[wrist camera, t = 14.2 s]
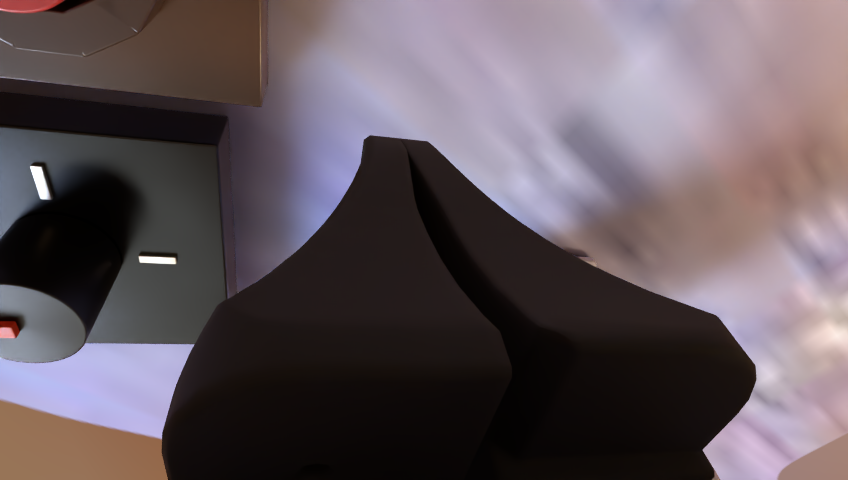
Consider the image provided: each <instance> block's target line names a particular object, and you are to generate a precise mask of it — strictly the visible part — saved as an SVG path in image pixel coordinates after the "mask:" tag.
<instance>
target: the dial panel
mask: <svg viewBox="0 0 848 480" xmlns="http://www.w3.org/2000/svg"><path fill="white" fill-rule="evenodd" d="M39 214H55V215H63V216H68V217H71V218H75V219H78V220H81V221H83V222H85V223H88V224H90V225H92V226H93V227H95V228H97V229H98V230H100V231H101V232H102V233H104V234H105V235H106V236H107V237H108V238H109V239H110V240H111V241H112V242H113V244H114V245H115V246H116V248H117V250H118V252H119V255H120V259H121V268H120V272H119V274H118V276H117V278H116V280H115V282H114V284H113V286H112V288H111V290H110V292H109V295H108V297H107V299H106V301H105V303H104V305H103V307H102V309H101V311H100V313H99V315H98V317H97V320H96V322H95V324H94V326H93V328H92V330H91V332H90V334H89V336H88V338H87V340H86V342H85V343H134V344H195V343H196V341H197V339H198V337H199V335H200V333H201V332H202V330H203V328H204V327H205V325H206V323H207V322H208V320H209V318H210V317H211V315H212V313H213V312H214V310H215V308H216V307H217V305H218V304H220V303H221V302H223V301H224V300H226V299H228V298H230V297H232V296H234V295H235V294H237V283H236V262H235V242H234V222H233V201H232V181H231V161H230V140H229V120H228V117H227V116H219V115H209V114H200V113H191V112H182V111H172V110H163V109H154V108H145V107H135V106H126V105H117V104H107V103H98V102H89V101H80V100H70V99H61V98H52V97H43V96H33V95H24V94H15V93H6V92H0V239H1V237H2V236H3V235H4V234H5V232H6V231H7V230H8V229H9V228H10V227H11V226H12V225H13V224H14V223H15V222H17V221H18V220H21V219H23V218H25V217H29V216H33V215H39Z"/></svg>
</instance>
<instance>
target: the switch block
mask: <svg viewBox="0 0 848 480" xmlns="http://www.w3.org/2000/svg"><path fill="white" fill-rule="evenodd" d="M0 78H8V79H17V80H26V81H35V82H43V83H52V84H61V85H70V86H79V87H87V88H96V89H105V90H114V91H123V92H131V93H140V94H149V95H158V96H167V97H175V98H184V99H193V100H202V101H211V102H219V103H228V104H237V105H246V106H255V107H262V104H263V100H264V96H265V92H266V88H267V84H268V0H65V1H63V2H61V3H60V4H58V5H56V6H55V7H53V8H51V9H48V10H45V11H42V12H36V13H11V12H6V11H1V10H0Z"/></svg>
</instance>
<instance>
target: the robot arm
mask: <svg viewBox="0 0 848 480" xmlns="http://www.w3.org/2000/svg"><path fill="white" fill-rule="evenodd" d="M755 382H756V368H755V364H754V363H753V362H752V360H751V359H750V358H749V357H748V355H747V354H746V353H745V351H744V350H743V349H742V347H741V346H740V345H739V344H738V342H737V341H736V340H735V338H734V337H733V336H732V334H731V333H730V332H729V330H728V329H727V328H726V327H725V325H724V324H723V323H722V321H721V320H720V319H719V318H718V317H717V316H716V315H714V314H711V313H708V312H705V311H702V310H700V309H697V308H694V307H691V306H689V305H686V304H683V303H680V302H678V301H675V300H672V299H669V298H667V297H664V296H661V295H658V294H656V293H653V292H650V291H648V290H646V289H643V288H641V287H639V286H636V285H634V284H632V283H630V282H627V281H625V280H623V279H620V278H618V277H616V276H614V275H611V274H609V273H607V272H605V271H603V270H601V269H599V268H597V264H596V262H595V260H594V259H593V258H590V257H576V256H574V255H572V254H571V253H569V252H567V251H565V250H563V249H561V248H560V247H558V246H556V245H555V244H553V243H551V242H550V241H548V240H546V239H545V238H543V237H542V236H540V235H539V234H537V233H536V232H534V231H533V230H531V229H530V228H528V227H527V226H525V225H524V224H522V223H521V222H519V221H518V220H517V219H515V218H514V217H512V216H511V215H510V214H508V213H507V212H506V211H505V210H503V209H502V208H501V207H500V206H499V205H497V204H496V203H495V202H494V201H492V200H491V199H490V198H489V197H487V196H486V195H485V194H484V193H483V192H482V191H481V190H479V189H478V188H477V187H476V186H475V185H474V184H473V183H472V182H471V181H469V180H468V179H467V178H466V177H465V176H464V175H463V174H462V173H461V172H460V171H459V170H458V169H457V168H456V167H455V166H454V165H453V164H452V163H450V162H449V161H448V160H447V159H446V158H445V157H444V156H443V155H442V154H441V153H440V152H439V151H438V150H437V149H436V148H435V147H434V146H432V145H431V144H430V143H429V142H427V141H418V140H408V139H399V138H390V137H380V136H371V135H370V136H369V137H367V138H366V139H364V142H363V150H362V158H361V164H360V166H359V169H358V171H357V173H356V175H355V178H354V180H353V182H352V183H351V185H350V187H349V188H348V190H347V192H346V193H345V195H344V197H343V198H342V200H341V202H340V203H339V205H338V206H337V207H336V209H335V210H334V211H333V213H332V214H331V215H330V217H329V218H328V219H327V220H326V221H325V223H324V224H323V225H322V226H321V227H320V228H319V229H318V231H317V232H316V233H315V234H314V235H313V236H312V237H311V238H310V239H309V240H308V241H307V242H306V243H305V244H304V245H303V246H302V247H301V248H300V249H299V250H297V251H296V252H295V253H294V254H293V255H291V256H290V257H289V258H288V259H286V260H285V261H284V262H283V263H281V264H280V265H279V266H278V267H276V268H275V269H274V270H273V271H271V272H270V273H269V274H267V275H266V276H265V277H263V278H262V279H260V280H259V281H257V282H255V283H254V284H252V285H250V286H249V287H247V288H245V289H244V290H242V291H240V292H239V293H237V294H235V295H234V296H232V297H230V298H228V299H226V300H224V301H223V302H221V303H220V304H218V305H217V307H216V308H215V310H214V312H213V313H212V315H211V317H210V318H209V320H208V322H207V323H206V325H205V327H204V328H203V330H202V332H201V333H200V335H199V337H198V339H197V341H196V343H195V345H194V347H193V348H192V350H191V352H190V354H189V357H188V359H187V361H186V363H185V366H184V368H183V370H182V372H181V375H180V377H179V380H178V382H177V384H176V387H175V390H174V394H173V397H172V401H171V404H170V408H169V411H168V415H167V418H166V422H165V426H164V429H163V433H162V456H163V460H164V464H165V469H166V473H167V477H168V480H720V479H719V477H718V475H717V473H716V472H715V470H714V468H713V467H712V465H711V463H710V462H709V460H708V459H707V457H706V455H705V454H704V452H703V449H704V448H705V447H706V446H707V445H708V443H709V442H710V441H711V440H712V439H713V438H714V437H715V436H716V435H717V434H718V433H719V432H720V431H721V430H722V429H723V428H724V427H725V426H726V425H727V424H728V423H729V422H730V421H731V420H732V419H733V418H734V417H735V416H736V415H737V414H738V413H739V411H740V410H741V409H742V408H743V406H744V405H745V404H746V402H747V401H748V400H749V398H750V395H751V393H752V390H753V388H754V385H755Z"/></svg>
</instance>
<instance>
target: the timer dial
mask: <svg viewBox="0 0 848 480" xmlns="http://www.w3.org/2000/svg"><path fill="white" fill-rule="evenodd" d="M120 268H121V259H120V255H119V252H118V250H117V248H116V246H115V245H114V244H113V242H112V241H111V240H110V239H109V238H108V237H107V236H106V235H105V234H104V233H102V232H101V231H100V230H98V229H97V228H95V227H93V226H92V225H90V224H88V223H85V222H83V221H81V220H78V219H75V218H71V217H68V216H63V215H55V214H39V215H33V216H29V217H25V218H23V219H21V220H18V221H17V222H15V223H14V224H13V225H12V226H11V227H10V228H9V229H8V230H7V231H6V232H5V234H4V235H3V236H2V237H1V239H0V358H3V359H7V360H12V361H18V362H26V363H46V362H53V361H58V360H62V359H65V358H67V357H70V356H72V355H73V354H75V353H76V352H78V351H79V350H80V349H81V348H82V347H83V346H84V344H85V342H86V340H87V338H88V336H89V334H90V332H91V330H92V328H93V326H94V324H95V322H96V320H97V317H98V315H99V313H100V311H101V309H102V307H103V305H104V303H105V301H106V299H107V297H108V295H109V292H110V290H111V288H112V286H113V284H114V282H115V280H116V278H117V276H118V274H119V272H120Z"/></svg>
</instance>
